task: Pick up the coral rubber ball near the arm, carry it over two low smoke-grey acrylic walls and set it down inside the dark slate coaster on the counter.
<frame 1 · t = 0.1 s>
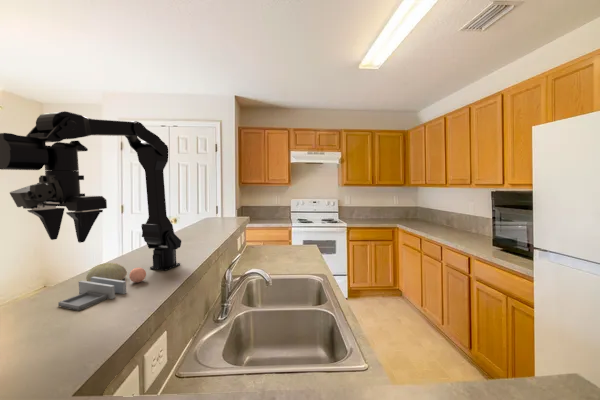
hand: (67, 240, 63), 15 cm above the worktop, tool pointing down, fingers open, 9 cm apart
sea urchin shell: (107, 282, 79), on the worktop
coaster: (83, 302, 65), on the worktop
ball: (138, 282, 78), on the worktop
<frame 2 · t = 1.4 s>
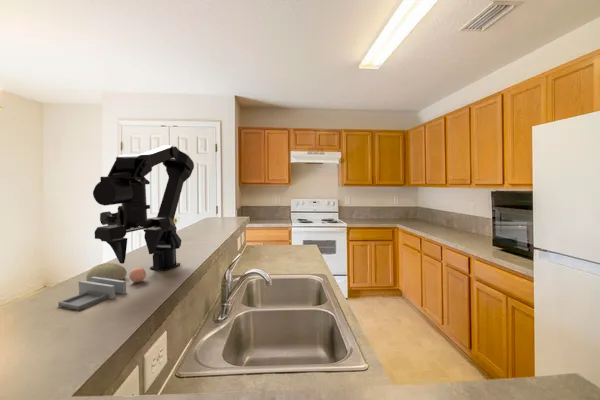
hand: (137, 258, 78), 7 cm above the worktop, tool pointing down, fingers open, 9 cm apart
nothing on the worktop moved.
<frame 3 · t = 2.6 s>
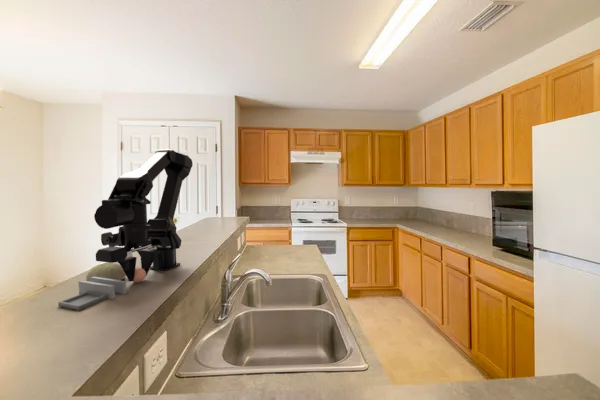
hand: (138, 278, 78), 1 cm above the worktop, tool pointing down, fingers closed on ball, 4 cm apart
ball: (138, 282, 78), on the worktop, touching gripper
everything else where it was.
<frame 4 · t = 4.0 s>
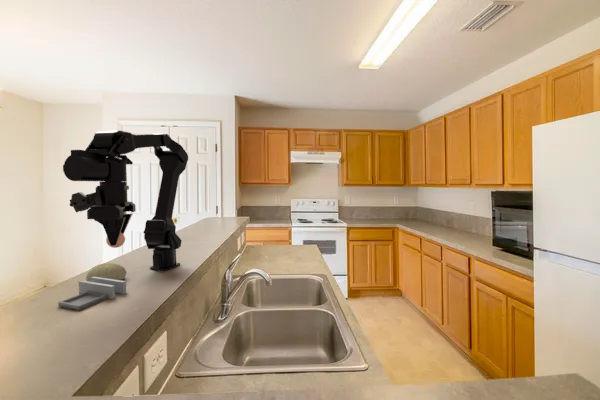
hand: (115, 243, 72), 12 cm above the worktop, tool pointing down, fingers closed on ball, 4 cm apart
ball: (116, 247, 72), point 11 cm above the worktop, touching gripper
everything else where it was.
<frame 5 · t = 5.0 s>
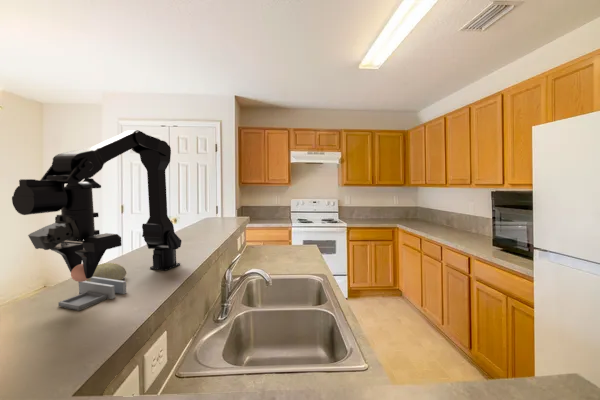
hand: (82, 277, 65), 6 cm above the worktop, tool pointing down, fingers closed on ball, 4 cm apart
ball: (82, 281, 65), point 5 cm above the worktop, touching gripper
everything else where it was.
when the fingers open (3 cm above the worktop, at t = 5.8 s): ball drops 1 cm, resting on coaster.
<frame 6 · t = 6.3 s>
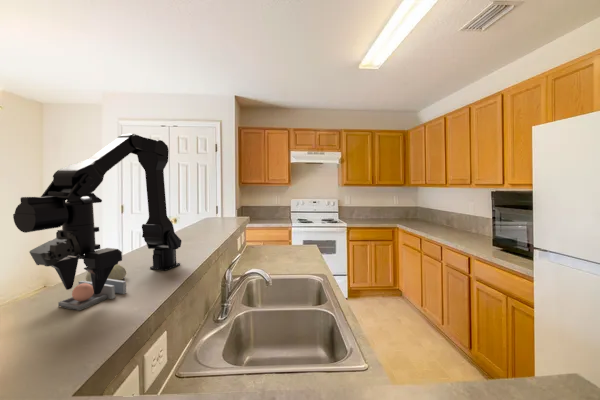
hand: (83, 291, 65), 3 cm above the worktop, tool pointing down, fingers open, 9 cm apart
ball: (83, 300, 65), resting on coaster
everything else where it was.
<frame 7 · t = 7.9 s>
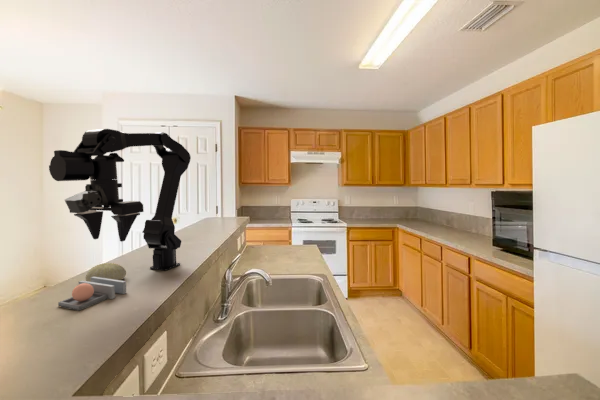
hand: (109, 240, 73), 13 cm above the worktop, tool pointing down, fingers open, 9 cm apart
nothing on the worktop moved.
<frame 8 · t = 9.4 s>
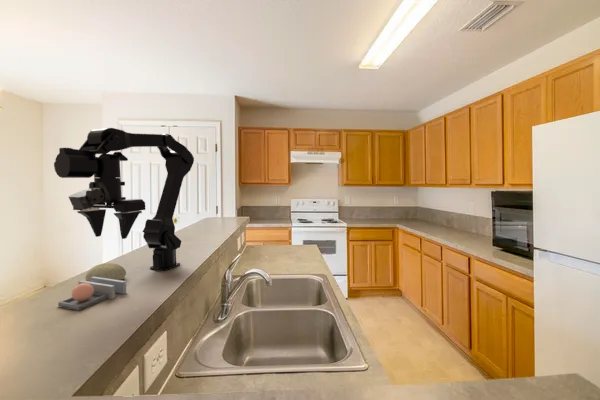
hand: (110, 237, 74), 13 cm above the worktop, tool pointing down, fingers open, 9 cm apart
nothing on the worktop moved.
at the end: ball 0.1 cm off-centre on the coaster, point 0.4 cm above the coaster's base; the gripper is holding nothing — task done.
